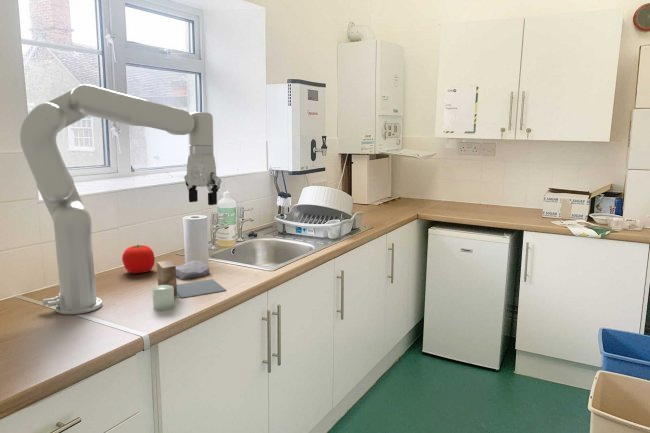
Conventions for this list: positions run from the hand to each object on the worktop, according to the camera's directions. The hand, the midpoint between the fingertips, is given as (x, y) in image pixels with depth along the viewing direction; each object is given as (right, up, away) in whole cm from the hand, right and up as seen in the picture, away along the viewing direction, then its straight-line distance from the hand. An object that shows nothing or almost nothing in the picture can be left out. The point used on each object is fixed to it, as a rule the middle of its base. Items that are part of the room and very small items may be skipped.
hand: (202, 203), depth 164 cm
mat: (-3, -29, +4) cm, 29 cm away
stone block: (-9, -26, +20) cm, 34 cm away
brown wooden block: (-11, -30, -1) cm, 32 cm away
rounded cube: (-8, -32, -14) cm, 36 cm away
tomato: (-29, -26, +22) cm, 45 cm away
